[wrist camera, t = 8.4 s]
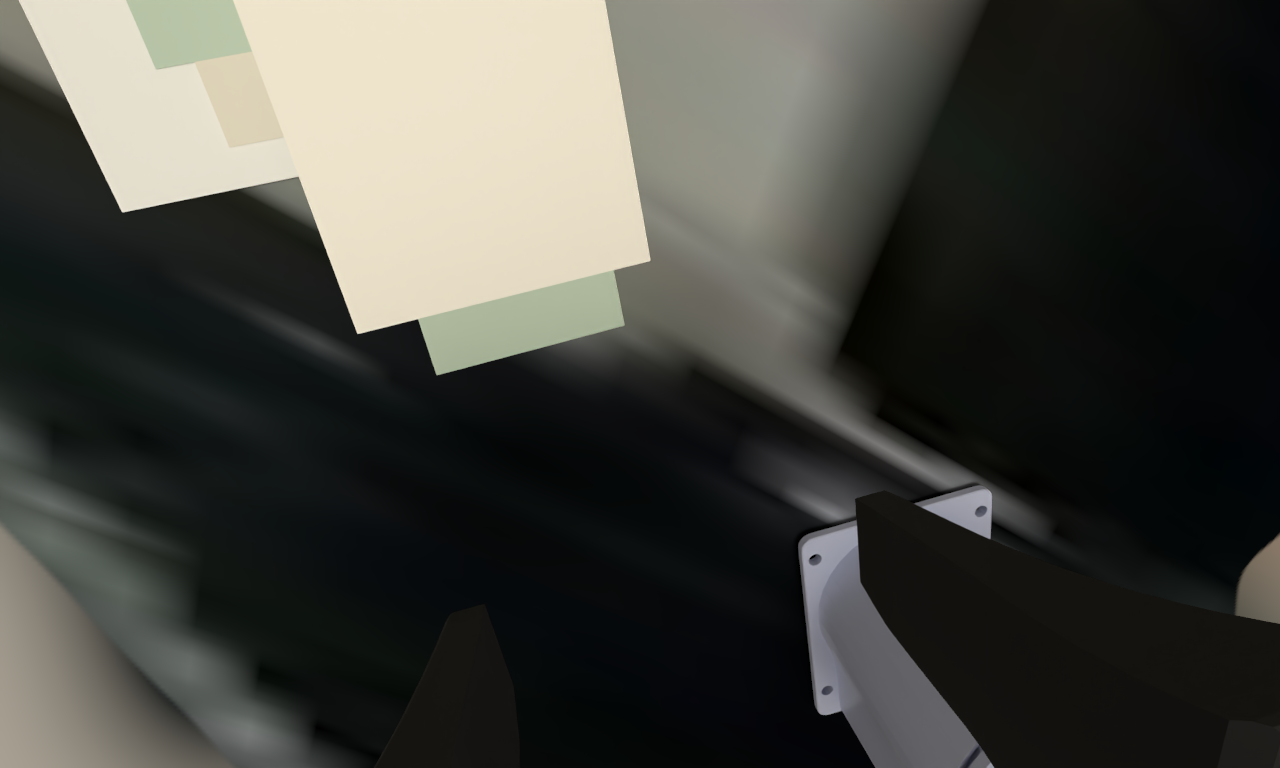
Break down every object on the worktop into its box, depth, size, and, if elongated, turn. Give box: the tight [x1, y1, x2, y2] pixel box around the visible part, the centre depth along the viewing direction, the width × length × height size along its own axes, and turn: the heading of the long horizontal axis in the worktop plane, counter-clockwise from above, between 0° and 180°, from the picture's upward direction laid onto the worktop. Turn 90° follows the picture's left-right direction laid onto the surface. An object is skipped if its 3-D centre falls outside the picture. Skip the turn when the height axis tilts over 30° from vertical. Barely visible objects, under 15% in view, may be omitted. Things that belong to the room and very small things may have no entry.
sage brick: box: [418, 270, 625, 375], centre depth 16 cm, size 9×4×5 cm, turn 10°
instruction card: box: [19, 0, 299, 212], centre depth 17 cm, size 6×8×1 cm
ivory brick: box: [233, 0, 651, 334], centre depth 12 cm, size 4×4×5 cm
